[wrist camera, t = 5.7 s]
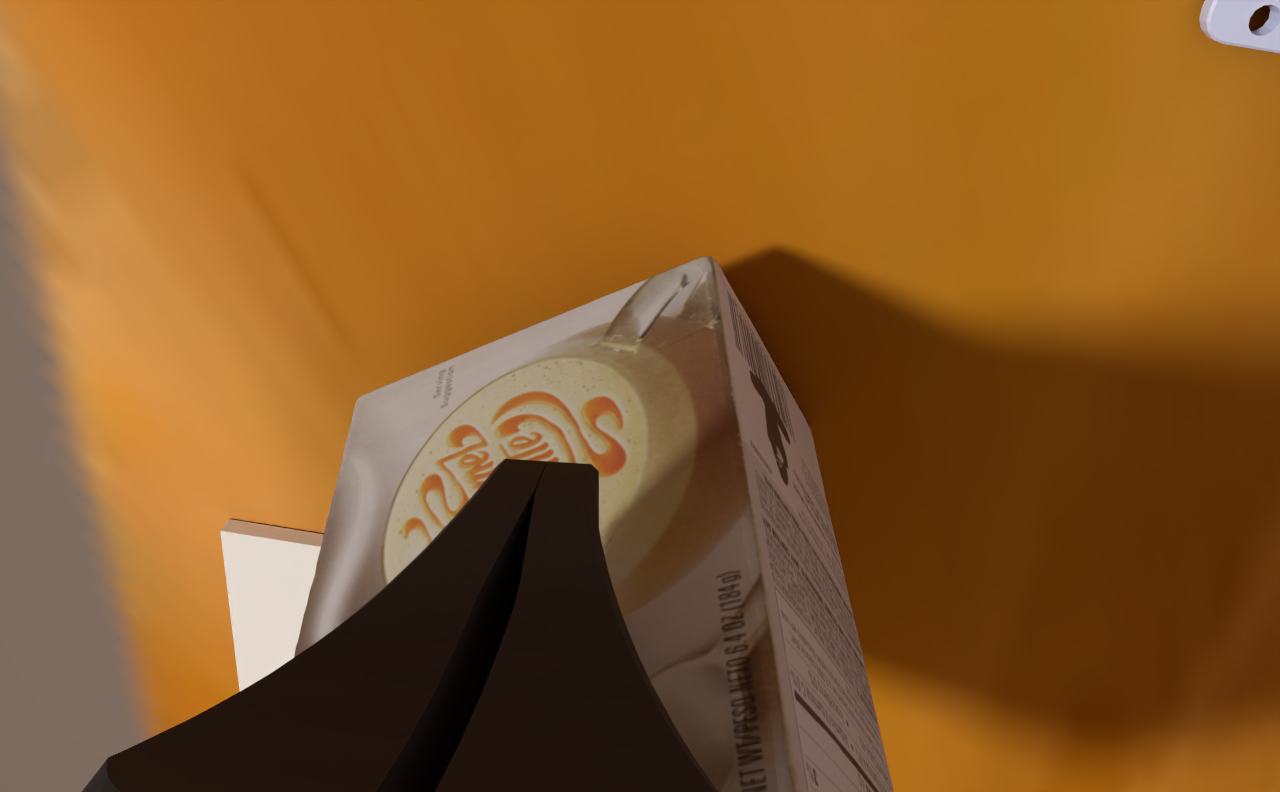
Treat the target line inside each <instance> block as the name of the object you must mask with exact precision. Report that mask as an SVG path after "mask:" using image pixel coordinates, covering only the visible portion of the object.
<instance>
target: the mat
mask: <svg viewBox="0 0 1280 792" xmlns="http://www.w3.org/2000/svg"><path fill="white" fill-rule="evenodd" d="M323 535H324V534H319V533H312V532H306V531H300V530H294V529H288V528H281V527H275V526H269V525H263V524H257V523H250V522H244V521H238V520H232V519H228V521H227V522H226V523H225V525H224V526H223V528H222V529H221V540H222V548H223V556H224V564H225V573H226V581H227V589H228V598H229V606H230V614H231V622H232V631H233V639H234V647H235V656H236V664H237V672H238V680H239V689H240V691H242V690H244V689H245V688H247V687H249V686H250V685H252V684H254V683H255V682H257V681H259V680H260V679H262V678H264V677H265V676H267V675H269V674H270V673H272V672H273V671H275V670H276V669H278V668H279V667H281V666H282V665H284V664H285V663H287V662H288V661H290V660H291V659H293V658H294V655H295V649H296V645H297V642H298V639H299V634H300V630H301V625H302V620H303V616H304V612H305V609H306V606H307V602H308V597H309V592H310V589H311V585H312V582H313V579H314V576H315V571H316V564H317V560H318V556H319V553H320V549H321V545H322V541H323Z"/></svg>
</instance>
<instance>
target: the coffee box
mask: <svg viewBox="0 0 1280 792" xmlns="http://www.w3.org/2000/svg"><path fill="white" fill-rule="evenodd" d="M504 459H519V460H535V461H551V462H567V463H583V464H592V465H593V466H594V467H595V468H596V469H597V470H598V471H599V531H600V537H601V541H602V546H603V550H604V555H605V559H606V563H607V568H608V571H609V575H610V578H611V582H612V585H613V589H614V592H615V595H616V598H617V601H618V604H619V607H620V610H621V613H622V616H623V618H624V621H625V624H626V626H627V629H628V632H629V634H630V637H631V639H632V641H633V644H634V646H635V649H636V651H637V653H638V656H639V658H640V660H641V662H642V664H643V666H644V669H645V671H646V673H647V675H648V677H649V679H650V681H651V683H652V685H653V687H654V689H655V691H656V693H657V694H658V696H659V698H660V700H661V702H662V704H663V705H664V707H665V709H666V711H667V713H668V714H669V716H670V718H671V720H672V722H673V724H674V725H675V727H676V729H677V731H678V732H679V734H680V736H681V737H682V739H683V740H684V742H685V743H686V745H687V747H688V748H689V750H690V751H691V753H692V755H693V756H694V758H695V759H696V761H697V762H698V764H699V765H700V767H701V768H702V770H703V771H704V772H705V774H706V775H707V777H708V778H709V780H710V781H711V782H712V784H713V785H714V787H715V788H716V789H717V791H718V792H894V791H893V787H892V782H891V778H890V774H889V769H888V765H887V761H886V756H885V752H884V748H883V743H882V739H881V735H880V730H879V726H878V722H877V717H876V713H875V708H874V704H873V700H872V695H871V691H870V686H869V682H868V677H867V673H866V668H865V664H864V659H863V655H862V650H861V646H860V642H859V637H858V633H857V629H856V625H855V621H854V616H853V612H852V608H851V604H850V600H849V596H848V591H847V587H846V582H845V578H844V573H843V569H842V564H841V560H840V555H839V551H838V547H837V543H836V539H835V534H834V530H833V526H832V522H831V518H830V514H829V509H828V504H827V500H826V496H825V491H824V486H823V481H822V477H821V472H820V468H819V464H818V460H817V455H816V450H815V445H814V440H813V437H812V433H811V430H810V428H809V426H808V424H807V422H806V419H805V417H804V416H803V414H802V412H801V410H800V409H799V407H798V405H797V403H796V401H795V400H794V398H793V396H792V394H791V393H790V391H789V389H788V387H787V385H786V384H785V382H784V380H783V378H782V377H781V375H780V373H779V371H778V369H777V368H776V366H775V364H774V362H773V360H772V359H771V357H770V355H769V353H768V351H767V349H766V348H765V346H764V344H763V342H762V340H761V338H760V337H759V335H758V333H757V331H756V330H755V328H754V326H753V324H752V322H751V321H750V319H749V317H748V315H747V313H746V312H745V310H744V308H743V307H742V305H741V303H740V302H739V300H738V298H737V297H736V295H735V293H734V291H733V290H732V288H731V286H730V284H729V282H728V281H727V279H726V277H725V275H724V273H723V272H722V270H721V268H720V266H719V265H718V263H717V261H716V260H715V259H713V258H712V257H709V256H708V257H701V258H698V259H696V260H693V261H691V262H688V263H685V264H683V265H680V266H677V267H675V268H673V269H670V270H668V271H665V272H663V273H661V274H658V275H656V276H653V277H651V278H649V279H646V280H644V281H641V282H639V283H636V284H634V285H632V286H629V287H627V288H624V289H622V290H619V291H617V292H614V293H612V294H609V295H607V296H604V297H602V298H599V299H597V300H594V301H592V302H589V303H587V304H585V305H582V306H580V307H577V308H575V309H572V310H570V311H567V312H565V313H563V314H560V315H558V316H555V317H553V318H550V319H548V320H545V321H543V322H540V323H538V324H536V325H533V326H531V327H528V328H526V329H523V330H521V331H518V332H516V333H513V334H511V335H508V336H506V337H503V338H501V339H498V340H496V341H493V342H491V343H489V344H486V345H484V346H481V347H479V348H476V349H474V350H472V351H469V352H467V353H464V354H462V355H459V356H457V357H455V358H452V359H450V360H447V361H445V362H442V363H440V364H438V365H435V366H433V367H430V368H428V369H425V370H423V371H421V372H418V373H416V374H413V375H411V376H408V377H406V378H404V379H401V380H399V381H396V382H394V383H391V384H389V385H386V386H384V387H382V388H379V389H377V390H374V391H372V392H369V393H367V394H365V395H363V396H360V398H359V399H358V400H357V401H356V405H355V409H354V412H353V418H352V423H351V427H350V430H349V434H348V438H347V442H346V446H345V450H344V454H343V459H342V463H341V468H340V472H339V476H338V480H337V484H336V488H335V492H334V496H333V499H332V503H331V508H330V512H329V516H328V519H327V523H326V528H325V532H324V535H323V541H322V545H321V549H320V553H319V556H318V560H317V564H316V571H315V576H314V579H313V582H312V585H311V589H310V592H309V597H308V602H307V606H306V609H305V612H304V616H303V620H302V625H301V630H300V634H299V639H298V642H297V645H296V649H295V655H294V657H296V656H297V655H299V654H300V653H301V652H303V651H304V650H306V649H307V648H309V647H310V646H312V645H313V644H315V643H316V642H317V641H319V640H320V639H322V638H323V637H324V636H326V635H327V634H328V633H330V632H331V631H332V630H334V629H335V628H336V627H338V626H339V625H340V624H341V623H343V622H344V621H345V620H346V619H348V618H349V617H350V616H351V615H353V614H354V613H355V612H356V611H358V610H359V609H360V608H361V607H362V606H364V605H365V604H366V603H367V602H368V601H370V600H371V599H372V598H373V597H374V596H375V595H376V594H378V593H379V592H380V591H381V590H382V589H383V588H384V587H385V586H387V585H388V584H389V583H390V582H391V581H392V580H393V579H394V578H395V577H396V576H397V575H398V574H399V573H400V572H401V571H402V570H403V569H404V568H405V567H406V566H407V565H408V564H410V563H411V562H412V561H413V560H414V559H415V558H416V557H417V556H418V555H419V554H420V553H421V552H422V551H423V550H424V549H425V548H426V547H427V546H428V545H429V544H430V543H431V542H432V540H433V539H434V538H435V537H436V536H437V535H438V534H439V533H440V532H441V531H442V530H443V529H444V527H445V526H446V525H447V524H448V523H449V522H450V521H451V520H452V519H453V518H454V517H455V516H456V514H457V513H458V512H459V511H460V510H461V509H462V508H463V506H464V505H465V504H466V503H467V502H468V501H469V499H470V498H471V497H472V496H473V495H474V494H475V492H476V491H477V490H478V489H479V488H480V486H481V485H482V484H483V483H484V481H485V480H486V479H487V478H488V477H489V475H490V474H491V473H492V472H493V470H494V469H495V468H496V466H497V465H498V464H499V463H501V462H502V461H503V460H504Z"/></svg>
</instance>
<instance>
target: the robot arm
mask: <svg viewBox="0 0 1280 792" xmlns="http://www.w3.org/2000/svg"><path fill="white" fill-rule="evenodd" d="M1264 5H1268V6H1269V9H1270V14H1269V19H1268V20H1267V21H1266V23H1265V24H1264V25H1263V26H1262V27H1261V28H1259V29H1257V30H1255V31H1250V29H1249V27H1248V25H1249V20H1250V17H1251V16H1252V15H1253V13H1254V12H1255V11H1256V10H1257V9H1259V8H1260V7H1262V6H1264ZM1199 21H1200V26H1201V30H1202V31H1203V32H1204V34H1205V35H1206V36H1207V37H1209V38H1211V39H1213V40H1215V41H1217V42H1220V43H1222V44H1227V45H1233V46H1239V47H1245V48H1250V49H1256V50H1262V51H1268V52H1274V53H1280V0H1205V2H1204V4H1203V6H1202V10H1201V14H1200V18H1199ZM82 792H718V791H717V789H716V788H715V787H714V785H713V784H712V782H711V781H710V780H709V778H708V777H707V775H706V774H705V772H704V771H703V770H702V768H701V767H700V765H699V764H698V762H697V761H696V759H695V758H694V756H693V755H692V753H691V751H690V750H689V748H688V747H687V745H686V743H685V742H684V740H683V739H682V737H681V736H680V734H679V732H678V731H677V729H676V727H675V725H674V724H673V722H672V720H671V718H670V716H669V714H668V713H667V711H666V709H665V707H664V705H663V704H662V702H661V700H660V698H659V696H658V694H657V693H656V691H655V689H654V687H653V685H652V683H651V681H650V679H649V677H648V675H647V673H646V671H645V669H644V666H643V664H642V662H641V660H640V658H639V656H638V653H637V651H636V649H635V646H634V644H633V641H632V639H631V637H630V634H629V632H628V629H627V626H626V624H625V621H624V618H623V616H622V613H621V610H620V607H619V604H618V601H617V598H616V595H615V592H614V589H613V585H612V582H611V578H610V575H609V571H608V568H607V563H606V559H605V555H604V550H603V546H602V541H601V537H600V531H599V471H598V470H597V469H596V468H595V467H594V466H593V465H592V464H583V463H567V462H551V461H535V460H519V459H504V460H503V461H502V462H501V463H499V464H498V465H497V466H496V468H495V469H494V470H493V472H492V473H491V474H490V475H489V477H488V478H487V479H486V480H485V481H484V483H483V484H482V485H481V486H480V488H479V489H478V490H477V491H476V492H475V494H474V495H473V496H472V497H471V498H470V499H469V501H468V502H467V503H466V504H465V505H464V506H463V508H462V509H461V510H460V511H459V512H458V513H457V514H456V516H455V517H454V518H453V519H452V520H451V521H450V522H449V523H448V524H447V525H446V526H445V527H444V529H443V530H442V531H441V532H440V533H439V534H438V535H437V536H436V537H435V538H434V539H433V540H432V542H431V543H430V544H429V545H428V546H427V547H426V548H425V549H424V550H423V551H422V552H421V553H420V554H419V555H418V556H417V557H416V558H415V559H414V560H413V561H412V562H411V563H410V564H408V565H407V566H406V567H405V568H404V569H403V570H402V571H401V572H400V573H399V574H398V575H397V576H396V577H395V578H394V579H393V580H392V581H391V582H390V583H389V584H388V585H387V586H385V587H384V588H383V589H382V590H381V591H380V592H379V593H378V594H376V595H375V596H374V597H373V598H372V599H371V600H370V601H368V602H367V603H366V604H365V605H364V606H362V607H361V608H360V609H359V610H358V611H356V612H355V613H354V614H353V615H351V616H350V617H349V618H348V619H346V620H345V621H344V622H343V623H341V624H340V625H339V626H338V627H336V628H335V629H334V630H332V631H331V632H330V633H328V634H327V635H326V636H324V637H323V638H322V639H320V640H319V641H317V642H316V643H315V644H313V645H312V646H310V647H309V648H307V649H306V650H304V651H303V652H301V653H300V654H299V655H297V656H296V657H294V658H293V659H291V660H290V661H288V662H287V663H285V664H284V665H282V666H281V667H279V668H278V669H276V670H275V671H273V672H272V673H270V674H269V675H267V676H265V677H264V678H262V679H260V680H259V681H257V682H255V683H254V684H252V685H250V686H249V687H247V688H245V689H244V690H242V691H240V692H239V693H237V694H235V695H233V696H231V697H230V698H228V699H226V700H224V701H222V702H221V703H219V704H217V705H215V706H213V707H212V708H210V709H208V710H206V711H204V712H202V713H200V714H199V715H197V716H195V717H193V718H191V719H189V720H187V721H185V722H183V723H181V724H179V725H177V726H175V727H173V728H170V729H168V730H166V731H164V732H162V733H160V734H158V735H156V736H154V737H152V738H150V739H147V740H145V741H143V742H141V743H139V744H137V745H135V746H133V747H131V748H129V749H127V750H124V751H122V752H120V753H118V754H115V755H113V756H111V757H109V758H108V759H107V760H106V761H105V763H104V764H103V765H102V767H101V768H100V769H99V771H98V772H97V773H96V774H95V776H94V777H93V778H92V780H91V781H90V782H89V783H88V785H87V786H86V787H85V788H84V790H83V791H82Z"/></svg>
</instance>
